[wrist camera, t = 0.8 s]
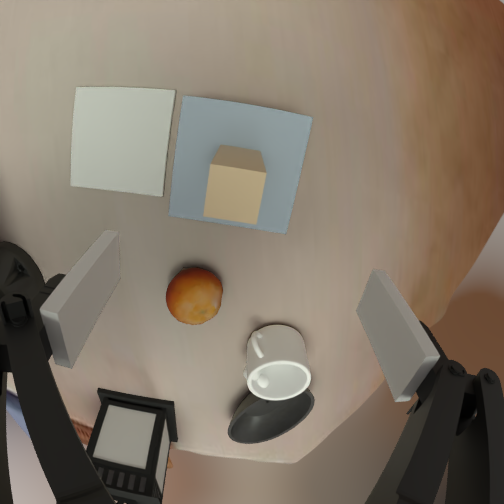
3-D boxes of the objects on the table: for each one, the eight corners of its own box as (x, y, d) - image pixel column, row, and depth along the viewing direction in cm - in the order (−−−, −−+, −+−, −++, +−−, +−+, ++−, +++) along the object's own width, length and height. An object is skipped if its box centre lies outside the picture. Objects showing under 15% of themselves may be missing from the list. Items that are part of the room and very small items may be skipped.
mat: (72, 184, 40) (70, 185, 39) (78, 87, 33) (76, 87, 33) (163, 195, 41) (162, 196, 41) (176, 90, 35) (175, 90, 34)
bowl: (214, 411, 63) (213, 434, 57) (275, 353, 55) (278, 380, 49) (260, 426, 66) (261, 448, 60) (325, 375, 58) (331, 399, 52)
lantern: (173, 401, 61) (151, 554, 30) (177, 438, 69) (163, 562, 38) (98, 387, 60) (54, 526, 29) (113, 427, 67) (84, 543, 36)
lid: (170, 212, 35) (143, 260, 25) (185, 95, 29) (156, 94, 19) (285, 230, 36) (299, 283, 26) (311, 116, 30) (341, 125, 21)
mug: (223, 330, 52) (220, 370, 44) (277, 301, 49) (283, 341, 41) (263, 369, 56) (265, 408, 48) (312, 346, 54) (321, 385, 46)
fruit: (166, 252, 43) (186, 290, 38) (214, 256, 48) (238, 291, 43) (151, 295, 47) (168, 335, 41) (196, 296, 52) (216, 332, 46)
